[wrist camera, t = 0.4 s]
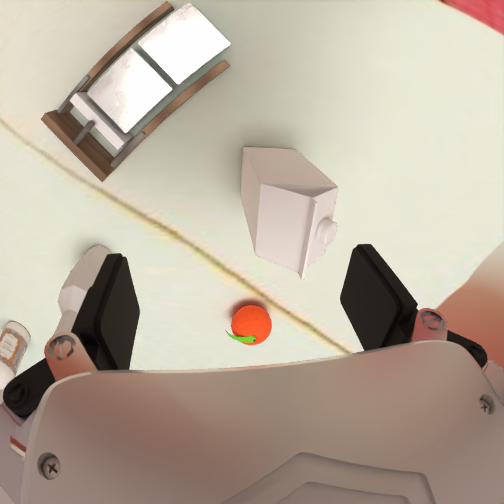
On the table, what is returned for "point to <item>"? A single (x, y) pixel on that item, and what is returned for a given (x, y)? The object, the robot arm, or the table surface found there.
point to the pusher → (100, 119)
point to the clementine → (251, 325)
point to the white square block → (130, 90)
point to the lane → (79, 136)
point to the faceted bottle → (79, 286)
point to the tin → (184, 43)
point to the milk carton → (287, 207)
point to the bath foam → (12, 351)
